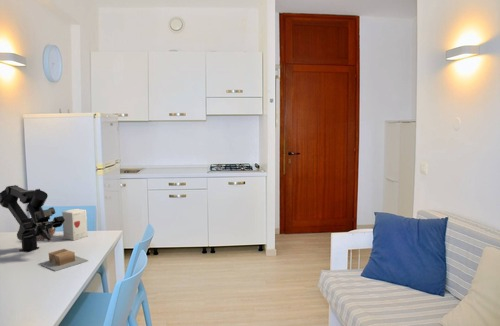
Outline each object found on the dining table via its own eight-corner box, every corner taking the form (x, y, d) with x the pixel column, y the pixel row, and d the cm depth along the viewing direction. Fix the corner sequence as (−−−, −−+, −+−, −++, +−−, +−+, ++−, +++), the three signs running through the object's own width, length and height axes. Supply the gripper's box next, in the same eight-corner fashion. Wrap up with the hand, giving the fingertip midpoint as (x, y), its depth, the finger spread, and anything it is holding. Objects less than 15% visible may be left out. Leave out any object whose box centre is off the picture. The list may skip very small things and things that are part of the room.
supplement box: (73, 240, 210) (71, 213, 209) (63, 238, 215) (61, 211, 213) (88, 236, 218) (86, 209, 216) (78, 234, 223) (76, 208, 221)
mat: (41, 265, 174) (41, 264, 174) (73, 256, 186) (73, 255, 186) (55, 271, 167) (55, 270, 167) (88, 261, 179) (88, 260, 179)
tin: (37, 242, 209) (36, 226, 208) (31, 241, 209) (30, 226, 208) (56, 234, 223) (55, 219, 223) (51, 234, 224) (50, 219, 223)
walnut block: (48, 252, 177) (59, 256, 172) (63, 248, 183) (74, 252, 177) (49, 261, 177) (59, 265, 172) (64, 257, 183) (75, 261, 178)
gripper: (20, 206, 176) (34, 234, 171) (61, 199, 191) (75, 225, 186) (14, 220, 182) (26, 248, 177) (54, 213, 197) (67, 238, 191)
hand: (49, 239), depth 182 cm, fingers closed
